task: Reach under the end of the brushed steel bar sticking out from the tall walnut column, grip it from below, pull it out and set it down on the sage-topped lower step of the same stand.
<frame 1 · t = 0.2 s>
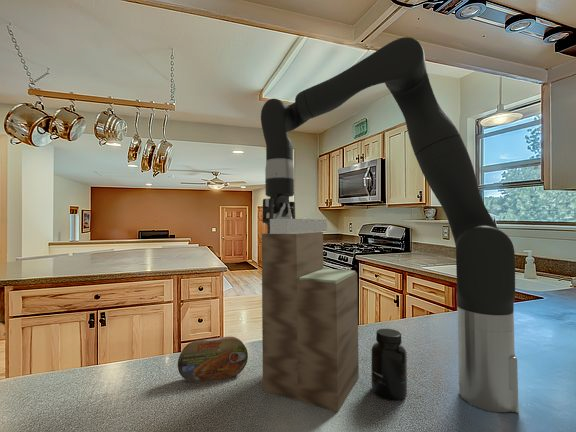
hand: (280, 239, 81), 30 cm above the countertop, tool pointing down, fingers open, 8 cm apart
supplement bottle: (389, 393, 62), on the countertop
steel bar: (302, 232, 72), point 32 cm above the countertop, touching walnut stand
tin: (213, 377, 70), on the countertop
walnut stand: (312, 383, 66), on the countertop
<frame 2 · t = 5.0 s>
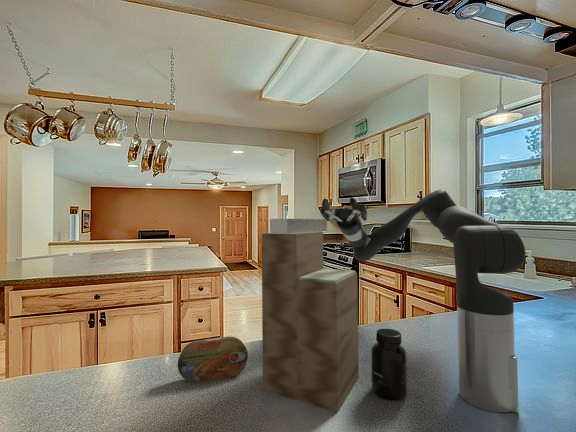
hand: (337, 200, 95), 41 cm above the countertop, tool pointing upward, fingers open, 8 cm apart
nothing on the countertop moved.
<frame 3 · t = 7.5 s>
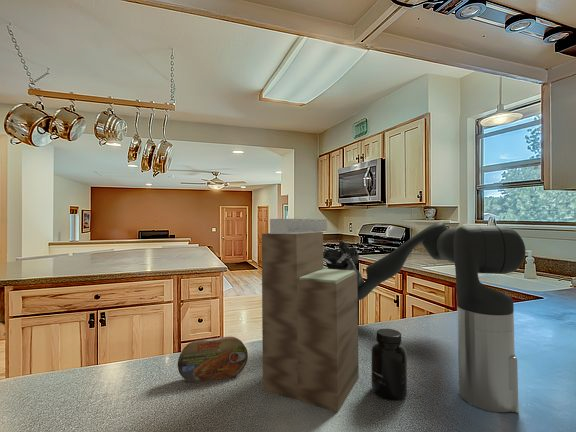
hand: (325, 243, 86), 28 cm above the countertop, tool pointing upward, fingers open, 8 cm apart
nothing on the countertop moved.
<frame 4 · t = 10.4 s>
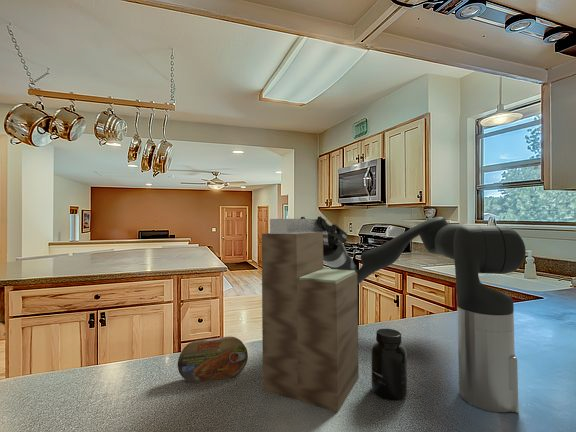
hand: (309, 219, 76), 35 cm above the countertop, tool pointing upward, fingers closed on steel bar, 4 cm apart
steel bar: (302, 232, 72), point 32 cm above the countertop, touching gripper, walnut stand
everything else where it was.
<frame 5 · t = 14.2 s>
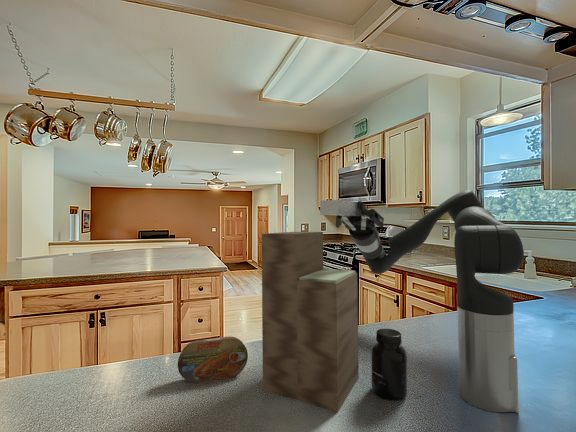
hand: (350, 204, 80), 39 cm above the countertop, tool pointing upward, fingers closed on steel bar, 4 cm apart
steel bar: (344, 215, 76), point 36 cm above the countertop, touching gripper
everything else where it was.
when the fingers open (28 cm above the countertop, at t = 18.4 s): steel bar drops 1 cm, resting on walnut stand.
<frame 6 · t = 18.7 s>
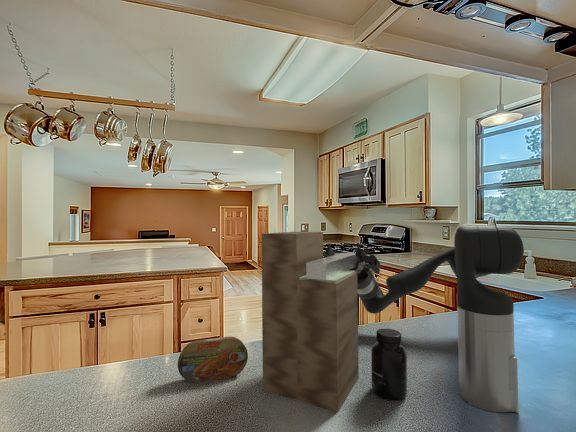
hand: (342, 250, 73), 28 cm above the countertop, tool pointing upward, fingers open, 6 cm apart
steel bar: (335, 271, 68), point 23 cm above the countertop, touching walnut stand
everything else where it was.
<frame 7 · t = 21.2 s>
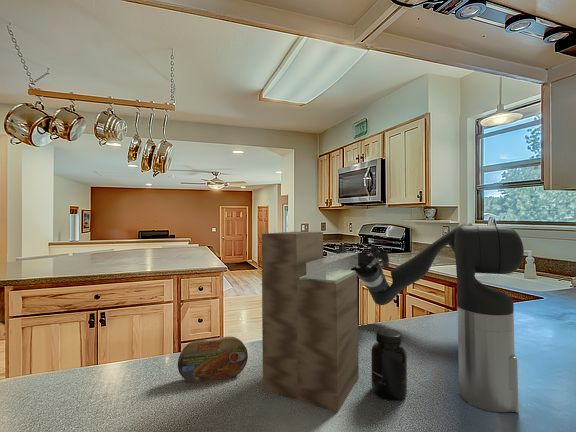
hand: (356, 247, 83), 27 cm above the countertop, tool pointing upward, fingers open, 8 cm apart
nothing on the countertop moved.
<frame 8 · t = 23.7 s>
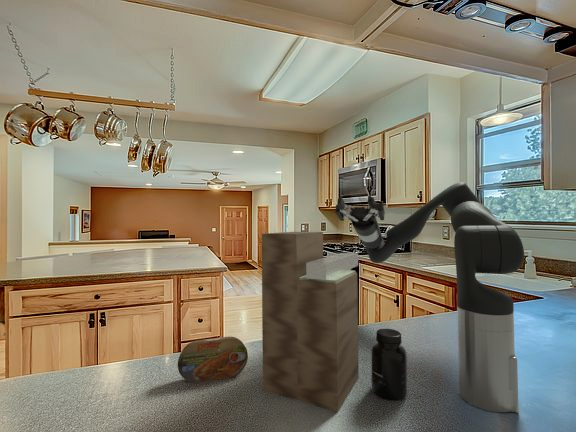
hand: (353, 198, 89), 41 cm above the countertop, tool pointing upward, fingers open, 8 cm apart
nothing on the countertop moved.
at the end: steel bar inside the target area (0.1 cm from its centre), point 23.5 cm above the countertop; the gripper is holding nothing; steel bar tilted 0° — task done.
